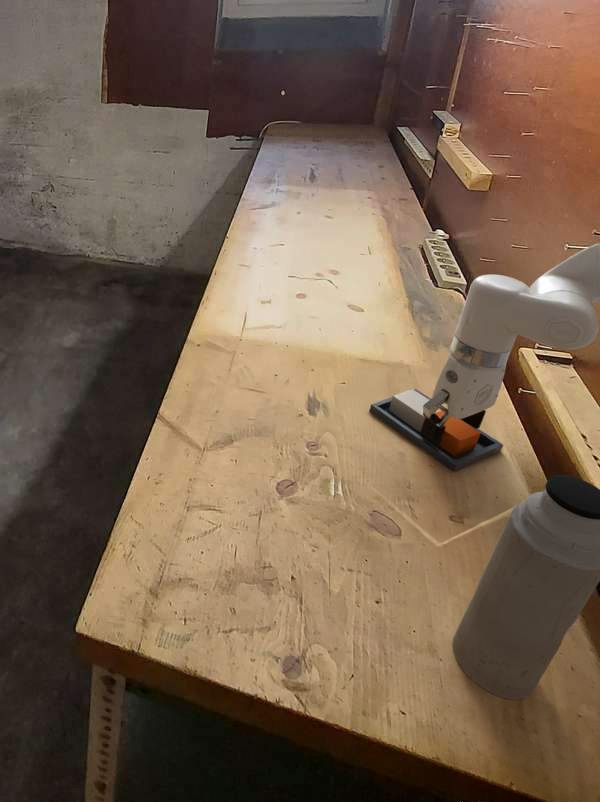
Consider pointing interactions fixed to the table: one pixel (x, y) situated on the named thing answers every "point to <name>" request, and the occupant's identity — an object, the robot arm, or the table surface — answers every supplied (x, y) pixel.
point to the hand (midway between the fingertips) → (449, 431)
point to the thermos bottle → (532, 588)
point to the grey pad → (409, 408)
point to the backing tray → (481, 451)
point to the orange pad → (457, 436)
